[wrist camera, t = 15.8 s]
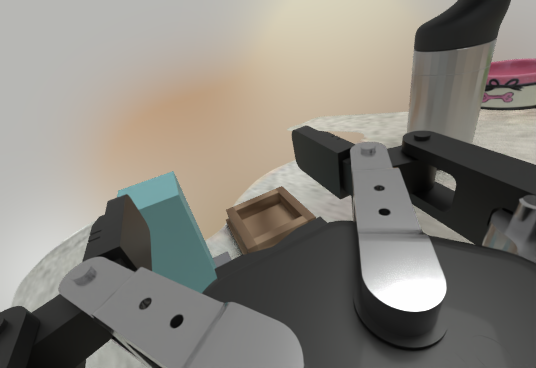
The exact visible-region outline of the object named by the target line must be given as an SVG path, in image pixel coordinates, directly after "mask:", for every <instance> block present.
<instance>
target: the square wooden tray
mask: <svg viewBox="0 0 536 368" xmlns="http://www.w3.org/2000/svg"><path fill="white" fill-rule="evenodd" d="M226 211H227V214H228V217H229V219H227V220H226V222H227V225H228V227H229V229H230V231H231V232H232V234H233V236H234V238H235V240H236V242H237V244H238V246H239V248H240V250H241V252H242V254H243V255H244V254H248V253H251V252H255V251H259V250H262V249H266V248H270V247H273V246H275V245H276V244H277V243H279V242H280V241H281V240H282V239H284V238H285V237H286V236H287V235H289V234H290V233H291V232H292V231H294V230H295V229H296V228H298V227H300V226H302V225H304V224H306V223H308V222H310V221H312V220H314V219H316V217H315V216H314V215H313V214H312V213H311V212H310V211H309V210H308V209H307V208H305V207H304V206H303V205H302V204H301V203H300V202H299V201H298V200H297V199H296V198H294V197H293V196H292V195H291V194H290V193H289V192H288V191H287V190H286V189H285V188H284V187H282V186H281V187H279V188H276V189H274V190H272V191H269V192H267V193H265V194H262V195H260V196H258V197H255V198H253V199H251V200H248V201H246V202H243V203H241V204H239V205H236V206H234V207H232V208H230V209H227V210H226Z"/></svg>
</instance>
